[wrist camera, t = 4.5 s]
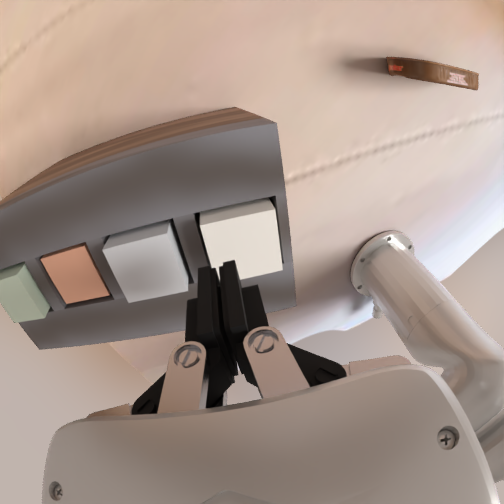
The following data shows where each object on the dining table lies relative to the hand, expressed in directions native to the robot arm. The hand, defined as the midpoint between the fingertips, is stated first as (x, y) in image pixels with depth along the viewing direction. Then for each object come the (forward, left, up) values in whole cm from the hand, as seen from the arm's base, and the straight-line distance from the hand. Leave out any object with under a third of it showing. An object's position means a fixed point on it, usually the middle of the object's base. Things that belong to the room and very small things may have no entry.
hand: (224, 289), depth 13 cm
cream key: (0, -1, -5) cm, 5 cm away
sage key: (0, +15, -5) cm, 16 cm away
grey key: (0, +4, -5) cm, 7 cm away
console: (0, +7, -23) cm, 24 cm away
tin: (+10, -30, -23) cm, 39 cm away
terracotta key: (0, +10, -6) cm, 12 cm away
